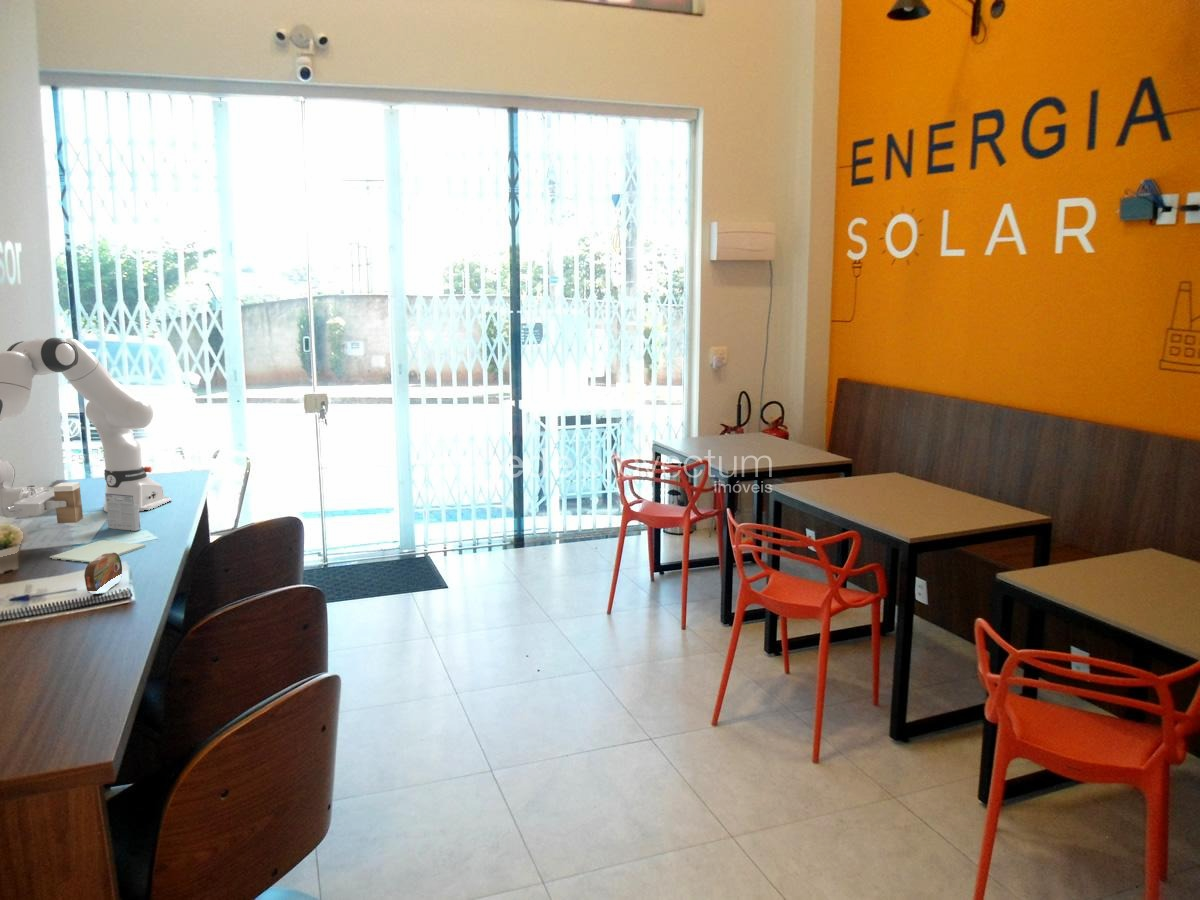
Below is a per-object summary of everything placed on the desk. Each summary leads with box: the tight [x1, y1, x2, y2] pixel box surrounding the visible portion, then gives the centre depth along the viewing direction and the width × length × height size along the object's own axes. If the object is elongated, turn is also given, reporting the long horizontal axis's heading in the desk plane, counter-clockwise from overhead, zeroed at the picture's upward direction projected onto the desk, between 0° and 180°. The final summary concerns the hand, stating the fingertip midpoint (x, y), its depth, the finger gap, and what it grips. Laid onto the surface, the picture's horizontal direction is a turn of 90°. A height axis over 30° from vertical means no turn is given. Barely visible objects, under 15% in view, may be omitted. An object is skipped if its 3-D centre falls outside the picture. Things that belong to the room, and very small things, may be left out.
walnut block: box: [53, 481, 84, 524], centre depth 262 cm, size 5×5×11 cm
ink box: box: [104, 492, 141, 532], centre depth 281 cm, size 12×2×12 cm, turn 71°
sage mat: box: [49, 539, 146, 563], centre depth 257 cm, size 18×16×1 cm
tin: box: [83, 553, 123, 592], centre depth 225 cm, size 15×3×8 cm, turn 5°
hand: (71, 500), depth 262 cm, fingers closed on walnut block, 5 cm apart
